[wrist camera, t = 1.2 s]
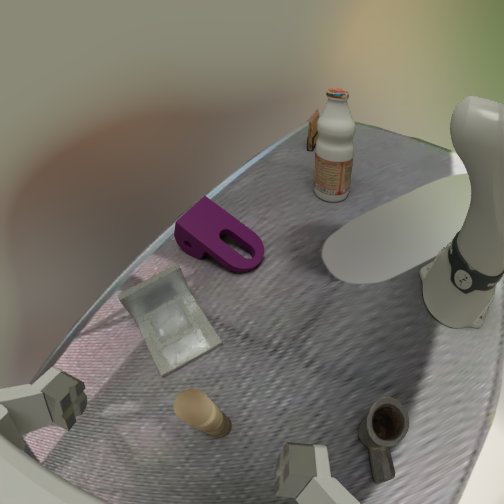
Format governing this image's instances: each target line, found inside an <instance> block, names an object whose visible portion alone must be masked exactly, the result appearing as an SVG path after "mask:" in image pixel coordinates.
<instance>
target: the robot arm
mask: <svg viewBox="0 0 504 504" xmlns="http://www.w3.org/2000/svg"><path fill="white" fill-rule="evenodd" d="M450 133H451V139H452V143H453V146H454V148H455V150H456V152H457V154H458V156H459V157H460V159H461V160H462V162H463V164H464V165H465V168H466V170H467V172H468V175H469V179H470V183H471V203H470V207H469V210H468V213H467V216H466V219H465V221H464V224H463V226H462V228H461V230H460V231H459V232H458V233H457V234H456V236H455V237H454V239H453V240H452V242H450V243H449V244H448V245H447V246H446V248H443V249H442V250H441V251H440V252H439V253H438V255H437V256H436V258H435V260H434V261H432V262H431V263H429V264H427V265H426V266H424V267H422V268H421V270H420V271H419V274H420V277H421V280H422V282H423V298H424V301H425V304H426V306H427V308H428V310H429V311H430V313H431V314H432V315H433V316H434V317H435V318H436V319H437V320H438V321H440V322H441V323H443V324H444V325H446V326H449V327H452V328H464V327H469V326H470V327H474V328H480V327H481V326H482V325H483V323H484V320H485V317H486V313H487V310H488V307H489V305H490V303H491V302H492V301H493V299H494V297H493V295H494V292H495V286H496V284H497V283H498V282H499V281H500V279H501V277H502V275H503V274H504V105H502V104H501V103H499V102H496V101H492V100H488V99H485V98H480V97H476V96H468V97H466V98H465V99H463V100H462V101H461V102H460V103H459V104H458V105H457V106H456V108H455V110H454V112H453V114H452V118H451V123H450ZM479 317H480V318H479ZM84 389H85V385H84V382H82V381H80V380H78V379H77V378H75V377H73V376H71V375H69V374H67V373H66V372H64V371H62V370H60V369H58V368H57V367H51V368H50V369H49V370H48V371H47V372H46V373H45V374H44V375H42V376H41V377H40V378H39V379H38V380H37V381H36V382H35V383H34V384H32V385H30V384H26V385H21V386H15V387H10V388H4V389H0V504H112V503H110V502H107V501H105V500H103V499H101V498H99V497H97V496H95V495H93V494H91V493H89V492H87V491H85V490H83V489H81V488H79V487H78V486H76V485H74V484H72V483H70V482H69V481H67V480H65V479H63V478H62V477H60V476H58V475H57V474H55V473H54V472H52V471H50V470H49V469H47V468H46V467H44V466H43V465H41V464H40V463H38V462H37V461H35V460H34V459H33V458H31V457H30V456H28V455H27V454H26V453H24V452H23V451H22V450H23V449H24V447H25V445H24V442H23V441H22V439H21V437H20V435H23V434H26V433H29V432H31V431H34V430H37V429H39V428H42V427H45V426H47V425H50V424H52V423H55V424H57V425H58V426H60V427H62V428H64V429H66V430H68V431H69V430H70V429H71V428H72V426H73V425H74V424H75V423H76V417H77V416H80V415H82V414H83V412H84V411H85V408H86V406H87V396H86V395H85V393H84V392H83V390H84ZM275 474H276V476H277V477H278V479H277V480H276V482H275V496H278V497H288V498H296V500H297V502H298V503H299V504H360V503H359V502H358V501H357V500H356V499H355V498H354V497H353V496H352V495H351V494H350V493H349V492H348V491H347V490H346V489H345V488H344V487H343V486H342V485H341V484H340V483H339V482H338V480H337V479H336V478H332V477H331V472H330V465H329V459H328V452H327V447H326V446H322V445H312V444H301V443H291V442H287V443H286V444H285V446H284V452H283V453H281V454H280V455H279V457H278V460H277V463H276V470H275Z"/></svg>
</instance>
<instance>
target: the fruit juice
mask: <svg viewBox="0 0 504 504" xmlns="http://www.w3.org/2000/svg"><path fill="white" fill-rule="evenodd" d="M326 95H327V98H328V101H327V103H326V106H325V108H324V111H323V113H322V115H321V116H320V117H319V119H318V121H317V131H318V135H319V136H318V139H317V141H316V149H315V176H314V191H315V194H316V195H317V196H318V197H319V198H320V199H322V200H325V201H328V202H339V201H342V200H344V199H345V198H346V197H347V196H348V193H349V188H350V180H351V173H352V165H353V157H354V143H353V137H354V135H355V131H356V126H355V122H354V121H353V119H352V116H351V113H350V110H349V107H348V103H347V100H348V97H349V93H348V92H347V91H345V90H342V89H328V90H327V94H326Z"/></svg>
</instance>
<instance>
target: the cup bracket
mask: <svg viewBox="0 0 504 504" xmlns="http://www.w3.org/2000/svg"><path fill="white" fill-rule="evenodd" d="M118 297H119V300H120V302H121V303H122V304H123V306H124V307H125V308H126V309H127V311H128V312H129V313H130V315H131V316H132V317H133V318H134V320H135V321H136V322H137V323H138V326H139V328H140V330H141V333H142V335H143V337H144V340H145V342H146V344H147V346H148V349H149V351H150V353H151V355H152V357H153V359H154V361H155V364H156V366H157V368H158V370H159V372H160V374H161V376H162V377H163V378H164V377H165V376H167V375H169V374H171V373H173V372H175V371H177V370H179V369H180V368H182V367H184V366H186V365H188V364H189V363H191V362H193V361H195V360H197V359H198V358H200V357H202V356H204V355H206V354H207V353H209V352H211V351H213V350H214V349H216V348H218V347H220V346H221V345H223V343H222V341H221V339H220V338H219V336H218V335H217V333H216V332H215V330H214V329H213V327H212V326H211V324H210V323H209V321H208V320H207V318H206V317H205V315H204V313H203V312H202V310H201V309H200V307H199V306H198V304H197V302H196V301H195V299H194V298H193V296H192V294H191V292H190V290H189V288H188V285H187V283H186V281H185V278H184V276H183V274H182V271H181V269H180V267H179V265H178V264H175V265H173V266H172V267H170V268H168V269H166V270H164V271H162V272H160V273H158V274H156V275H155V276H153V277H151V278H149V279H147V280H145V281H143V282H141V283H140V284H138V285H136V286H134V287H132V288H130V289H128V290H127V291H125V292H123V293H121V294H119V295H118Z"/></svg>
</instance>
